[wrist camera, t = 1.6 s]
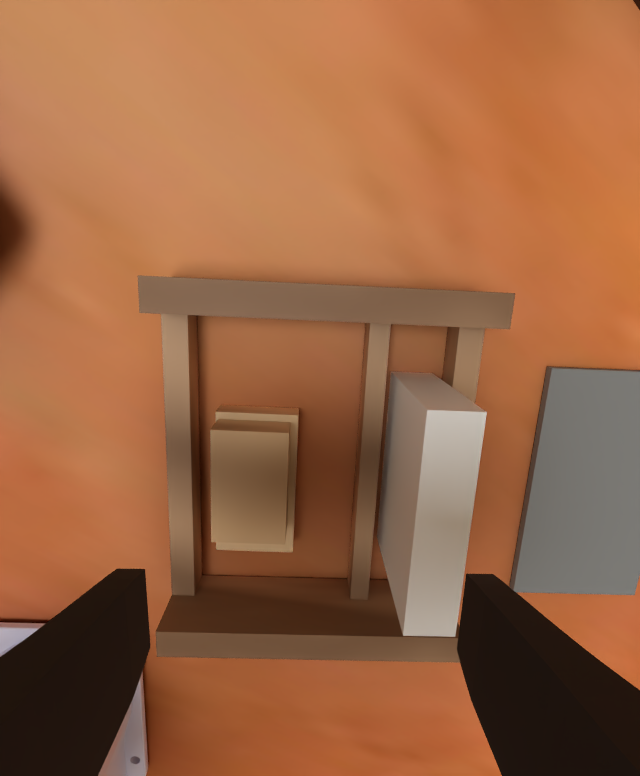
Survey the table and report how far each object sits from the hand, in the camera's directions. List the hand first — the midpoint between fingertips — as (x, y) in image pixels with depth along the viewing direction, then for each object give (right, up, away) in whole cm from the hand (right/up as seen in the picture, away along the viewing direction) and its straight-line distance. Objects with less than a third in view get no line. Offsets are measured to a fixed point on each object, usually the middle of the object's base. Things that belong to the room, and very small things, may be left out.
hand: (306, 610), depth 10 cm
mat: (+13, 0, +10) cm, 17 cm away
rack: (+1, +2, +10) cm, 10 cm away
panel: (+4, +2, +10) cm, 11 cm away
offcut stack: (-2, +1, +10) cm, 11 cm away
